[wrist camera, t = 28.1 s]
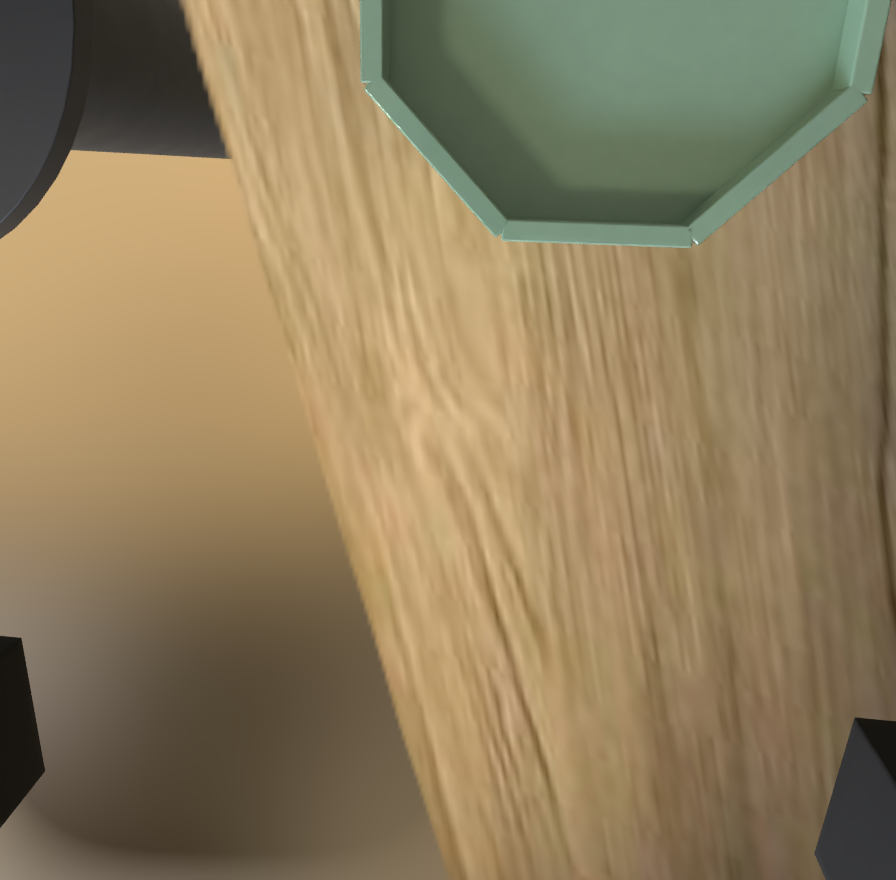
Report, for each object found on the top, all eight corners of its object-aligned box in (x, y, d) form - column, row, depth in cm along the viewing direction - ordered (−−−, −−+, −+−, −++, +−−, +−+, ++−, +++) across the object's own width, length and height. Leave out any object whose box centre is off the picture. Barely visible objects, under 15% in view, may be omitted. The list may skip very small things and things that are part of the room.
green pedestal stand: (418, 213, 33) (361, 235, 21) (423, -139, 28) (355, -375, 16) (715, 223, 32) (840, 254, 20) (768, -138, 27) (972, -388, 15)
